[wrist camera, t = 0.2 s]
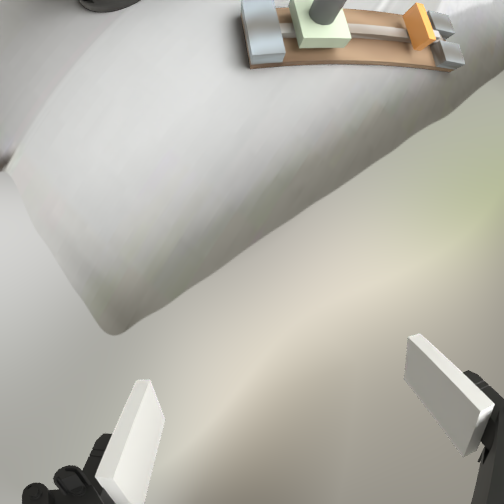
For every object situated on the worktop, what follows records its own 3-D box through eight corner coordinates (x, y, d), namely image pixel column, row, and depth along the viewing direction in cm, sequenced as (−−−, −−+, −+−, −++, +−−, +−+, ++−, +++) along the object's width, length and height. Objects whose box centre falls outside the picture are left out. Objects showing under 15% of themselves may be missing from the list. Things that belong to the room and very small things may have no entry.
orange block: (402, 15, 33) (416, 2, 28) (429, 20, 33) (444, 9, 29) (413, 50, 34) (429, 38, 30) (441, 54, 34) (457, 44, 30)
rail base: (240, 15, 36) (241, -1, 31) (434, 25, 36) (448, 15, 32) (250, 69, 37) (252, 55, 33) (449, 72, 38) (465, 64, 33)
